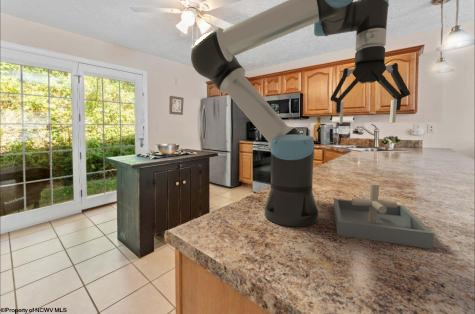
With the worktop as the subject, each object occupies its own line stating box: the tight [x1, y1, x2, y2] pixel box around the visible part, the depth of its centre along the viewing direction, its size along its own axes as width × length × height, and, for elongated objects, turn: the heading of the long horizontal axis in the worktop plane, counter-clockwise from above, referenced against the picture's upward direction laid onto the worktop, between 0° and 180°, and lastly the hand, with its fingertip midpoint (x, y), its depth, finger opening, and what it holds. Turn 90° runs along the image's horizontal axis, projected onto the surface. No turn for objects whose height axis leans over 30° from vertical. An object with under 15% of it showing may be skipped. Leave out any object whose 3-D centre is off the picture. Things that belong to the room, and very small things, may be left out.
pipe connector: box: [351, 183, 398, 223], centre depth 56 cm, size 10×10×10 cm
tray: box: [333, 198, 434, 250], centre depth 56 cm, size 18×18×3 cm
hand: (365, 123), depth 66 cm, fingers open, 13 cm apart
